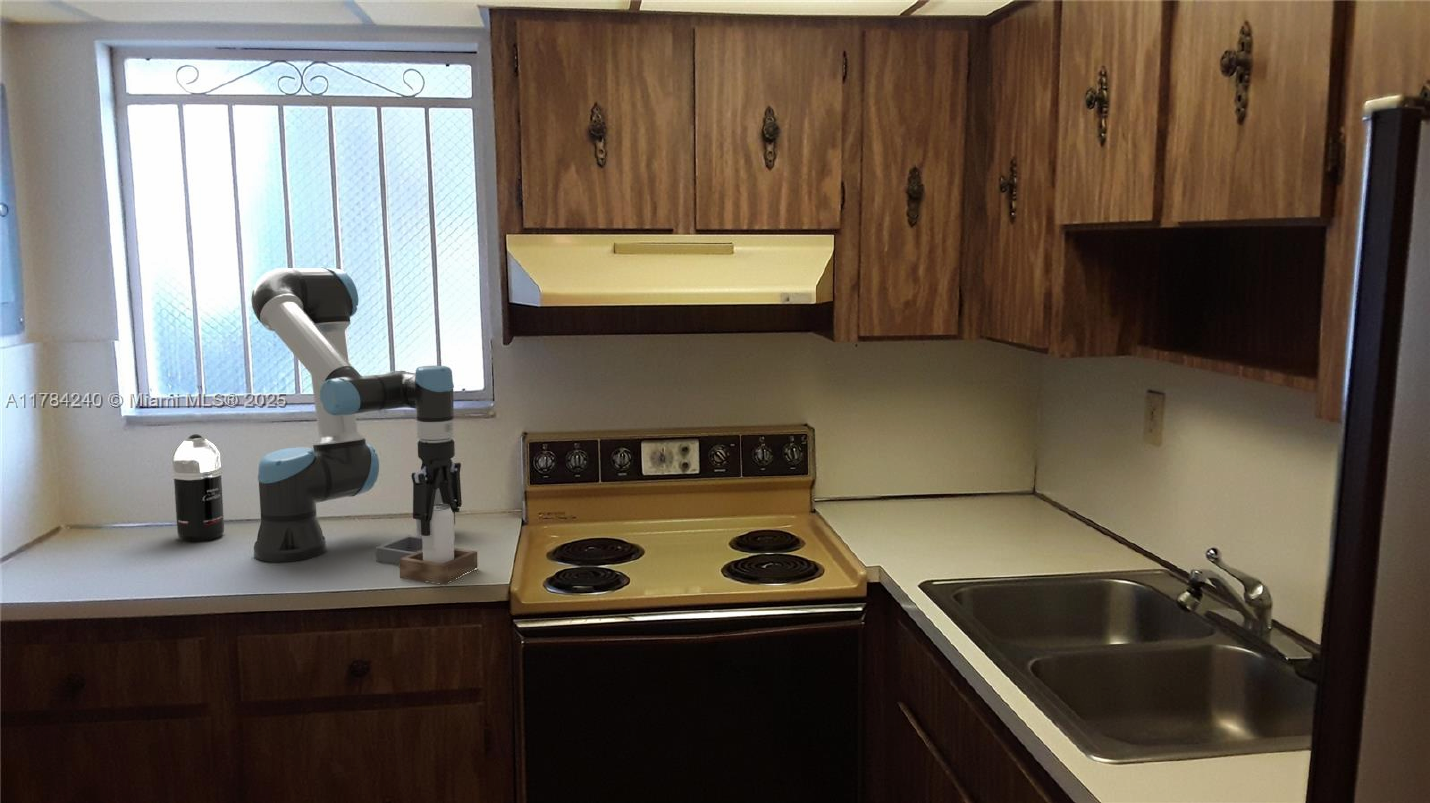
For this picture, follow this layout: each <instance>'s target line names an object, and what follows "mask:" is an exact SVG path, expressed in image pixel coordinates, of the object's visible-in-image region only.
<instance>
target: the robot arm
mask: <svg viewBox="0 0 1430 803" xmlns="http://www.w3.org/2000/svg"><path fill="white" fill-rule="evenodd" d="M358 293H359V292H358V290H357V286H356V284H355V282H354V280H353V279H352V277H351V276H350V275H349V274H348V273H347V272H345V271H344V270H342V269H339V268H330V267H329V268H327V267H305V268H304V267H297V268H296V267H294V268H293V267H290V268H289V267H282V268H281V267H280V268H275V269H273V270H270V271H268V272H266V273H264V274H263V275H262V276H261V277H260V278H259V279H258V280H257V282H256V283H255V285H254V286H253V289H252V292H251V301H250V302H251V308H252V311H253V313H254V315H255V317H256V318H257V320H258V322H260V324H261V325H262V326H263V327H264V328H265V329H266V330H269V331H271V332H274V333H275V334H276V335H277V336H278V337H279V339H280V340H281V341H282V342H283V343H284V345H286V346H287V348H288V349H289V350H290V352H292V354H293V355H294V356H295V357H296V358H297V360H298V361H299V362H300V363H301V364H302V365H303V367H304V368H305V369H306V370H307V372H309V374H310V375H311V376H310V377H311V385H312V386H311V387H312V393H313V400H314V408H315V409H314V410H315V415H316V423H317V424H316V425H317V432H318V437H317V438H316V440H315V441H314V442H313V443H312V447H313V448H311V447H307V446H297V447H288V448H283V449H278V450H275V451H271V452H269V453H267V454H266V455H264V456H263V457H262V458H261V459H260V460H259V462H258V472H257V473H258V475H257V480H258V492H259V510H260V525H259V528H258V532H257V536H256V537H257V538H256V541H255V542H254V545H253V556H254V558H255V559H256V560H259V561H264V562H270V563H282V562H284V563H286V562H295V561H302V560H306V559H307V560H308V559H311V558H314V557H316V556H317V557H318V556H320V555H321V554H323V553H325V552H326V551H327V540H326V537H325V536H324V535H323V531H322V527H321V525H320V522H319V520H318V515H317V503H321V502H322V503H323V502H327V501H332V500H337V499H343V498H349V497H355V496H358V495H361V494H365V493H367V492H369V491H370V490H372V488H374V485H375V483H376V482H377V480H378V477H379V472H380V462H379V461H380V460H379V457H378V454H377V453H376V449H375V448H374V447H373V446H372V445H371V444H367V443H366V437H365V436H364V435H363V434H361V432H359V431H358V425H357V417H356V415H357V414H363V413H369V412H375V411H386V410H393V409H402V408H406V409H407V408H409V409H415V410H416V438H418V441H417V457H418V459H420V460H421V466H420V470H419V471H418V472H411V476H410V477H411V480H412V484H413V485H412V486H413V487H412V490H413V491H412V518H413V520H416V519H417V520H420V521H421V535H422V546H423V549H424V550H430V551H434V550H435V548H434V520H431V519H432V513H433V507H434V501H435V495H436V490H437V489H438V488H439V490H440V494H441V498H442V502H443V504H449V505H451V510H452V512H453V528H454V543H455V541H456V538H455V537H456V533H455V532H456V529H455V525H456V513H459V512H460V510H461V509H460V508H461V507H462V503H463V502H462V501H463V500H462V488H461V485H462V484H461V468H462V464H461V462H456V461H452V459H453V458H454V457H455V454H456V453H455V452H456V448H455V440H454V439H453V438H454V437H455V432H454V431H455V428H454V426H455V424H454V423H455V422H454V419H455V418H454V416H455V415H454V413H455V412H454V404H455V403H454V388H455V387H454V386H455V385H454V382H453V381H454V379H453V370H452V369H451V367H448V366H446V365H423V366H418V367H417V368H416V369H415V373H414V372H409V371H405V370H393V371H388V372H387V373H384V374H375V375H374V374H373V375H361V374H360V373H359V372H358V371H357V369H355V367H354V366H353V365H352V364H351V363H350V361H349V354H348V346H347V338H346V330H347V329H348V328H349V327H350V325H351V318H352V317H353V316H354V315H355V314H356V312H357V311H358V306H359V295H358ZM428 483H429V484H428ZM431 484H433V485H431ZM426 514H427V515H426Z"/></svg>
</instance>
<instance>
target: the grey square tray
mask: <svg viewBox="0 0 1430 803" xmlns="http://www.w3.org/2000/svg"><path fill="white" fill-rule="evenodd" d="M409 550H412V551H409ZM416 550H417V551H416ZM420 550H423V546H422V537H417V536H415V535H405V536H404V537H400V538H397V539H396V540H393V541H390V542H388V543H387V542H386V543H384V544H382V545H379V546H377V547H375V561H376V562H380V563H381V562H383V563H388V564H393V565H399V559H401V558H403V557H406V556H408V555H410V554H413V553H415V552H418V551H420ZM414 551H415V552H414Z"/></svg>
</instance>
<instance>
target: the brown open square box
mask: <svg viewBox="0 0 1430 803" xmlns="http://www.w3.org/2000/svg"><path fill="white" fill-rule="evenodd" d="M478 563H479V562H478V551H476V550H470V549H464V548H458V547H457V548H456V547H454V559H453V560H450V561H448V562H446V563H444V564H440V563H434V562H428V561H423V550H420V551H418V552H417V551H415V553H413V554H410V555H408V556H406V557H403V558H401V559H399V564H398V565H399V577H400V578H403V579H408V580H413V581H419V582H425V581H428V582H427V583H430V582H434V583H433V584H436V583H440V584H439V585H442V584H445V585H447V584H449V583H451V582H450V581H452V582H453V580H454V581H456V580H457V579H456V578H458V577H460V576H462V575H463V574H465V573H467V572H470V571H472V570H474V569H475V568H477V567H478V566H479V565H478ZM462 577H463V576H462ZM460 578H461V577H460ZM455 579H456V580H455ZM458 579H459V578H458ZM448 582H449V583H448ZM446 583H447V584H446Z"/></svg>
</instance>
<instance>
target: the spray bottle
mask: <svg viewBox="0 0 1430 803" xmlns="http://www.w3.org/2000/svg"><path fill="white" fill-rule="evenodd" d="M221 462H222V461H221V453H220V451H219V449H218V448H217V446H216V445H215V444H214V443H212V442H211V441H209V440H208V439H206V438H205V437H203V436H202V435H200V434H198V433H195V434H194V433H193V434H191V435H190V436H189V437H187V438H186V439H185V440H184V441H183V442H181V443H180V444H179V445H178V446H177V448H176V449H175V451H174V452H173V455H172V471H173V472H172V474H173V475H172V478H173V484H174V499H175V501H174V502H175V515H176V516H175V517H176V532H177V537H178V539H180V540H181V541H184V542H189V543H199V542H207V541H212V540H215V539H217V538H220V537H222V536H223V534H224V533H225V520H224V518H225V517H224V503H223V502H224V501H223V486H222V484H223V483H222V474H223V472H222V463H221Z"/></svg>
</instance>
